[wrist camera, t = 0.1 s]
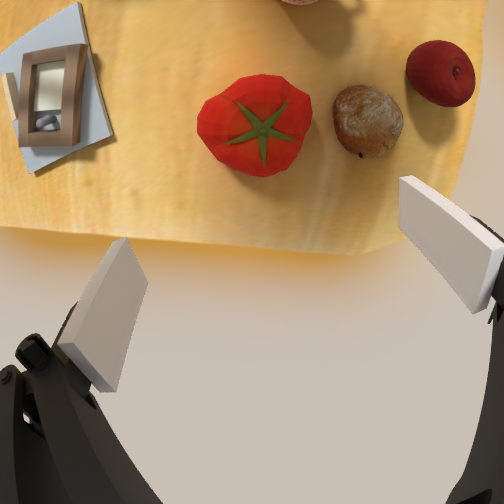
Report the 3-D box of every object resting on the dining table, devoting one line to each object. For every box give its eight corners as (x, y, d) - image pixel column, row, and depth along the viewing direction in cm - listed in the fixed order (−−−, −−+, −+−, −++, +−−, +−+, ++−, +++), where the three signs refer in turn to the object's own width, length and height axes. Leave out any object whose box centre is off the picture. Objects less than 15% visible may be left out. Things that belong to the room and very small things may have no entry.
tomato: (222, 181, 41) (221, 206, 33) (188, 98, 34) (176, 101, 27) (317, 149, 39) (338, 167, 31) (290, 64, 32) (306, 58, 25)
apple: (448, 61, 31) (491, 65, 22) (434, 111, 36) (476, 124, 27) (402, 31, 29) (443, 25, 21) (387, 85, 34) (426, 90, 25)
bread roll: (383, 101, 38) (409, 83, 31) (389, 164, 40) (419, 155, 32) (324, 92, 38) (342, 68, 30) (327, 158, 39) (349, 145, 31)
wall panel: (2, 55, 25) (-17, 56, 21) (80, 3, 24) (64, -4, 20) (33, 171, 36) (16, 182, 32) (113, 134, 35) (99, 141, 31)
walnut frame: (32, 53, 25) (23, 53, 23) (88, 44, 27) (80, 43, 25) (27, 143, 33) (18, 147, 30) (80, 142, 34) (72, 146, 32)
